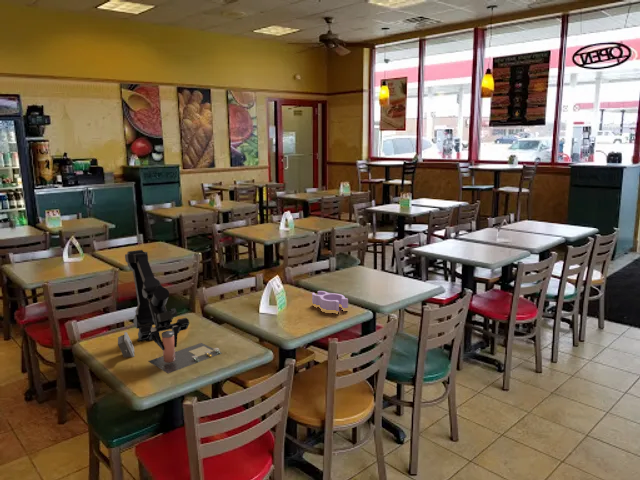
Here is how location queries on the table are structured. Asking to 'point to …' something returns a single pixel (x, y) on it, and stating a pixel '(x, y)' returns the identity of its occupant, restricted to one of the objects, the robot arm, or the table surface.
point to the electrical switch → (126, 345)
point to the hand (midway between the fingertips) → (169, 348)
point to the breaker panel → (186, 357)
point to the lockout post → (168, 346)
